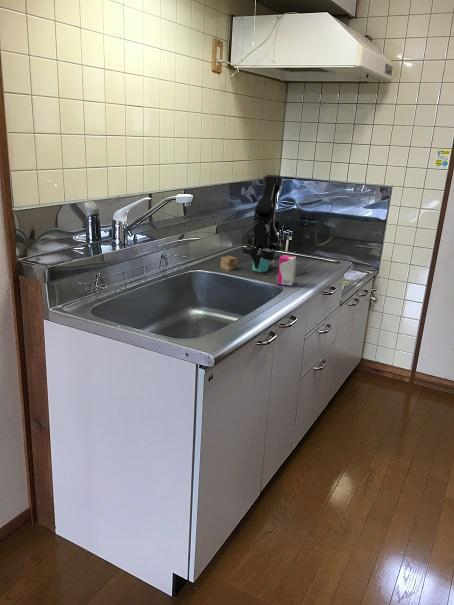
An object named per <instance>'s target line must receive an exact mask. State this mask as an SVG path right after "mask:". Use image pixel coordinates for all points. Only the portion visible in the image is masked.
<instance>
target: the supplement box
mask: <svg viewBox="0 0 454 605" xmlns="http://www.w3.org/2000/svg"><path fill="white" fill-rule="evenodd" d="M278 261H279V264H278V265H279V266H278V272H277V273H278V276H277V286H280V287H281V286H282V287H283V286H284V287H289V288H290V287H291V288H292V286H293V285H294V284H295V276H296V275H295V265H296V261H297V256H295V255H285V254H282V255H281V256H280V257H279V260H278Z"/></svg>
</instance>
